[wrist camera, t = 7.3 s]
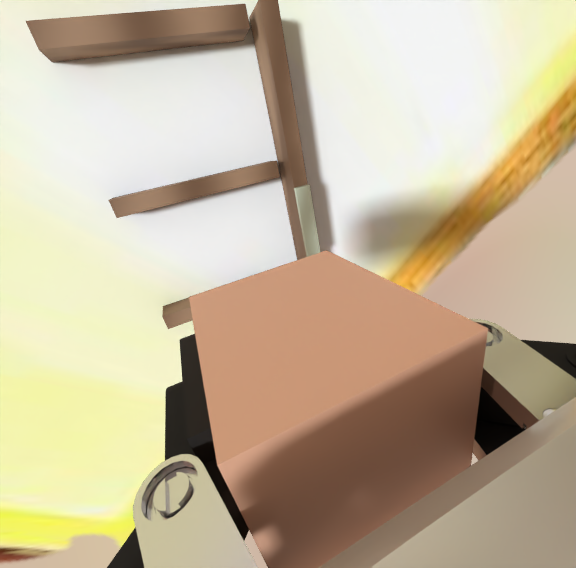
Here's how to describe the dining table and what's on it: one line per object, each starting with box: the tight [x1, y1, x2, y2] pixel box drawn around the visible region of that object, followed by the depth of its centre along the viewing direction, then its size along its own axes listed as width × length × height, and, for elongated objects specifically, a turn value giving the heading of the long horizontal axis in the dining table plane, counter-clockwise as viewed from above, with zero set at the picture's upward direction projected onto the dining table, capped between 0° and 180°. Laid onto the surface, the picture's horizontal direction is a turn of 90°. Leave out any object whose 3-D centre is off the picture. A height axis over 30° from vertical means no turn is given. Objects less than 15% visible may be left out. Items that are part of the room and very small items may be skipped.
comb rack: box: [26, 0, 320, 329], centre depth 21 cm, size 14×20×3 cm
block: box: [189, 250, 488, 568], centre depth 8 cm, size 5×5×6 cm
